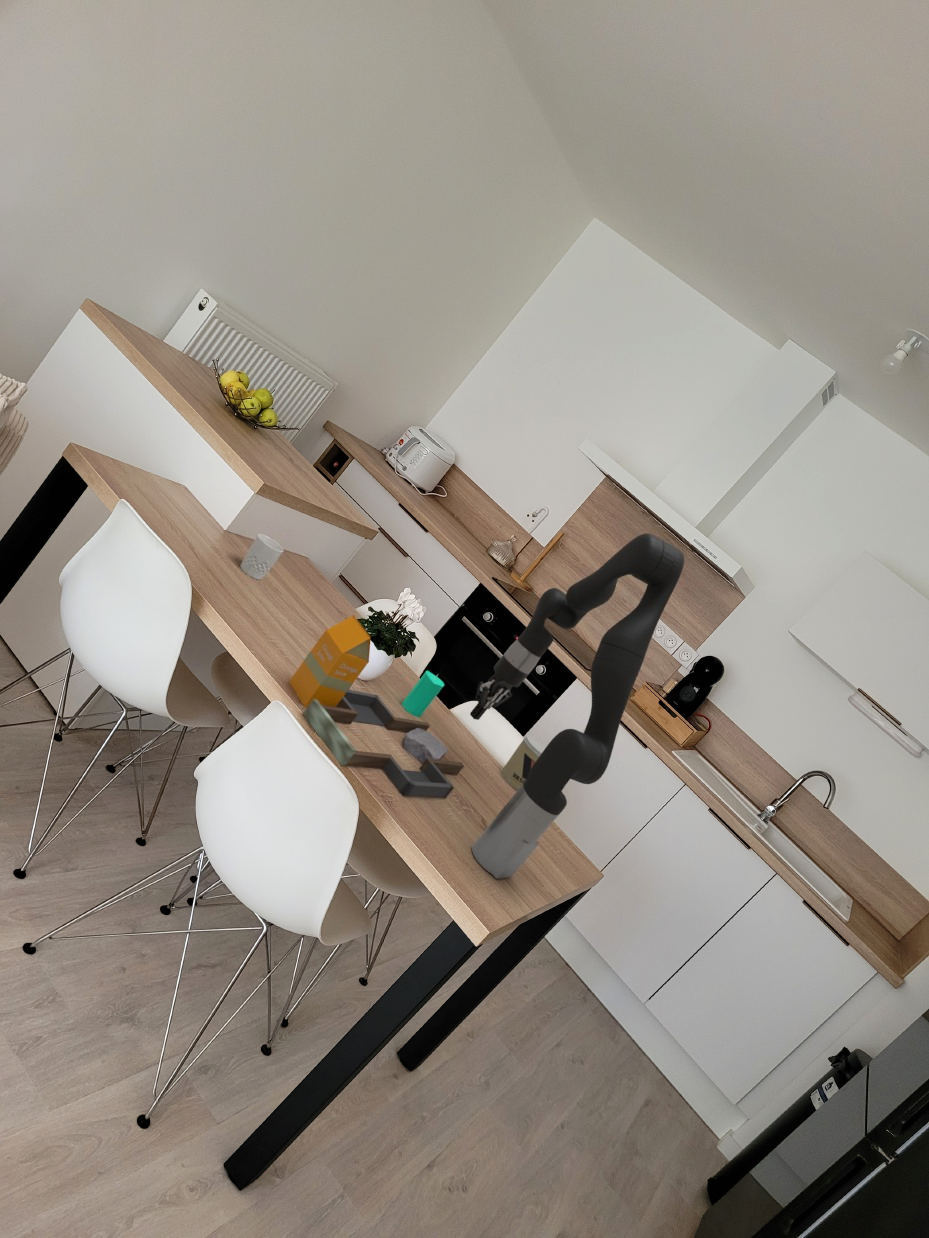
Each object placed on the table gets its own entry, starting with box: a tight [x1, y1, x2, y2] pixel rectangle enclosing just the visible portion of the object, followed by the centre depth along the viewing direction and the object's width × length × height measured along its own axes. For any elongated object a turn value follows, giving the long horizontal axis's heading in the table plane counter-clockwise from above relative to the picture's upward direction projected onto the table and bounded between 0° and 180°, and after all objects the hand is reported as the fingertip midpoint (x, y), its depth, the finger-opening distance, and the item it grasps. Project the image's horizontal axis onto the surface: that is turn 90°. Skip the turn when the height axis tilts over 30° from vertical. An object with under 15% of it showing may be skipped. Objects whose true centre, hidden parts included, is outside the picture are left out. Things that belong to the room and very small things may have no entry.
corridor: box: [302, 699, 465, 776], centre depth 181 cm, size 15×41×4 cm, turn 137°
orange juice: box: [288, 614, 372, 708], centre depth 176 cm, size 8×9×20 cm
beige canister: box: [500, 734, 547, 791], centre depth 214 cm, size 9×9×12 cm
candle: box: [401, 670, 445, 718], centre depth 210 cm, size 6×6×12 cm
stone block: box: [402, 728, 449, 765], centre depth 192 cm, size 12×5×10 cm
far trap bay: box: [336, 689, 396, 727], centre depth 188 cm, size 8×15×3 cm, turn 137°
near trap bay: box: [381, 757, 455, 799], centre depth 175 cm, size 8×15×3 cm, turn 137°
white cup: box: [239, 533, 284, 581], centre depth 221 cm, size 8×8×10 cm
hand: (473, 717), depth 199 cm, fingers closed
